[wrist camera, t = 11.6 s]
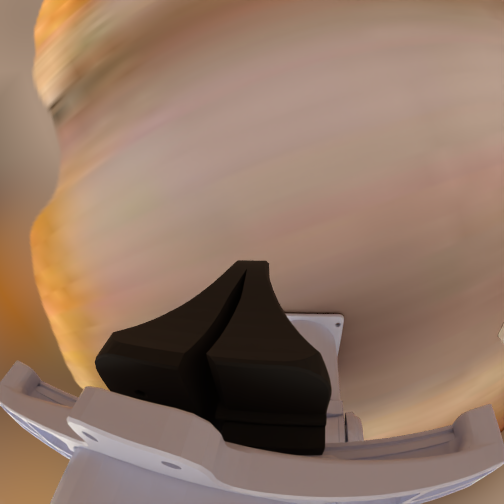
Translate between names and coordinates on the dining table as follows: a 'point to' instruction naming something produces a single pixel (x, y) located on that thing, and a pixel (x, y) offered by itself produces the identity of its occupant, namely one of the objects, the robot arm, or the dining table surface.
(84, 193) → the dining table surface
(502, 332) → the serving corral
